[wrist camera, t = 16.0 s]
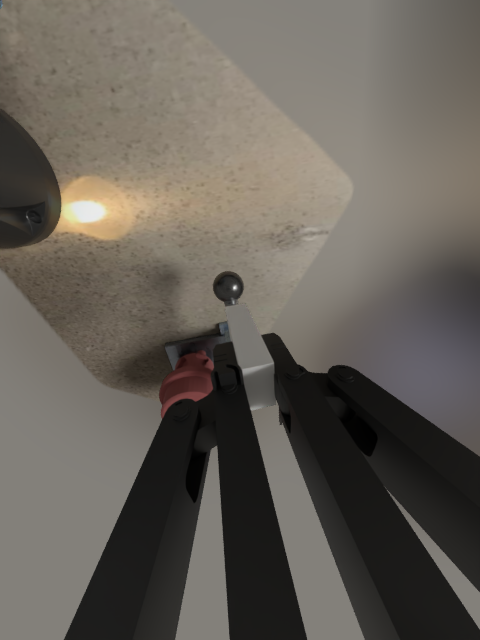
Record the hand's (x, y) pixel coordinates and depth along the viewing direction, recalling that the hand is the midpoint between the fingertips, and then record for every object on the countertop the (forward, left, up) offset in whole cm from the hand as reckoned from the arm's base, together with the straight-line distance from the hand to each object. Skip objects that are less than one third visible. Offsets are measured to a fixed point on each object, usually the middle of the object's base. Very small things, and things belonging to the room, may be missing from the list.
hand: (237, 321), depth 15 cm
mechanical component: (+17, -8, -18) cm, 26 cm away
